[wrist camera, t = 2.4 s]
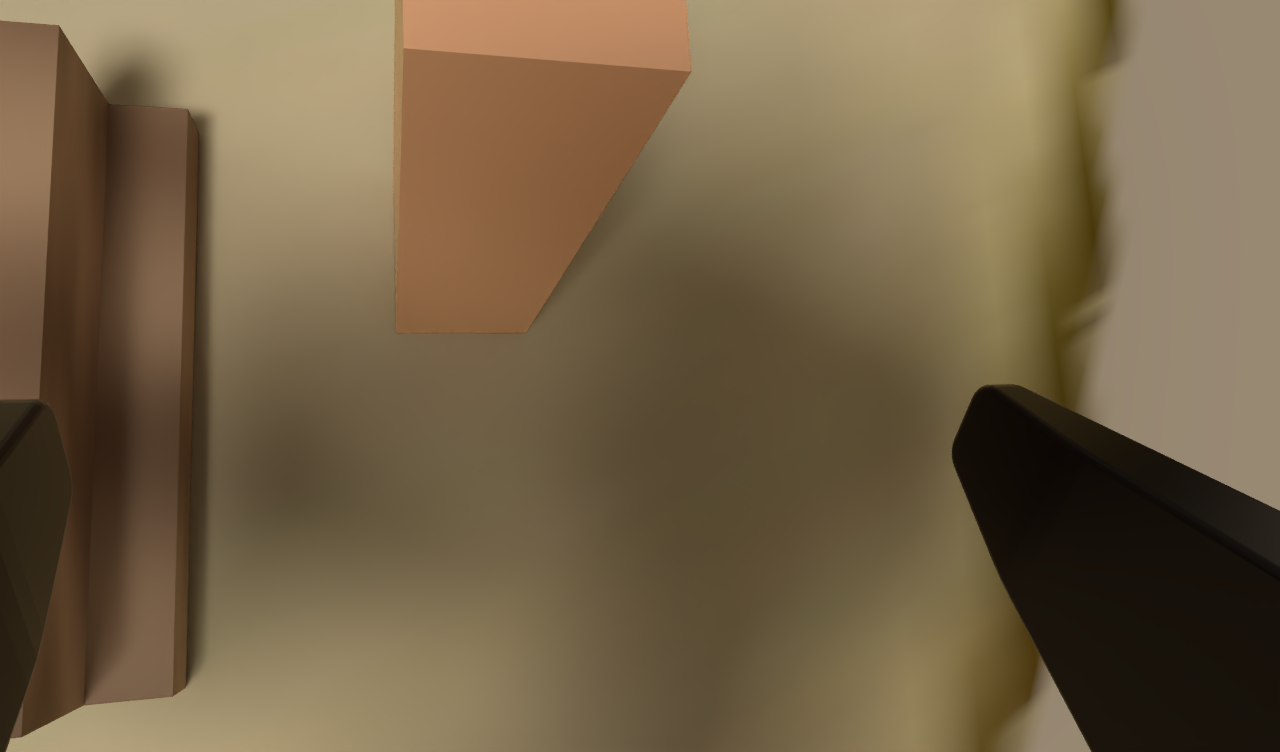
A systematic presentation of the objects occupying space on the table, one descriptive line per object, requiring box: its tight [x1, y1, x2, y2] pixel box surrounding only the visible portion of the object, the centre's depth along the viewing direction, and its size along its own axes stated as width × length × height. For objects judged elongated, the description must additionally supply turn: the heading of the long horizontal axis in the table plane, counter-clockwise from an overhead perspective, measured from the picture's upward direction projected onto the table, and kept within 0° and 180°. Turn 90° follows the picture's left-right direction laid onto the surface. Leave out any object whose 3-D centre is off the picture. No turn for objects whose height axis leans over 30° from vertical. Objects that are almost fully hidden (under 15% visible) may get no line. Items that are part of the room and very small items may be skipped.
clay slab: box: [393, 0, 691, 333], centre depth 16 cm, size 4×3×12 cm
